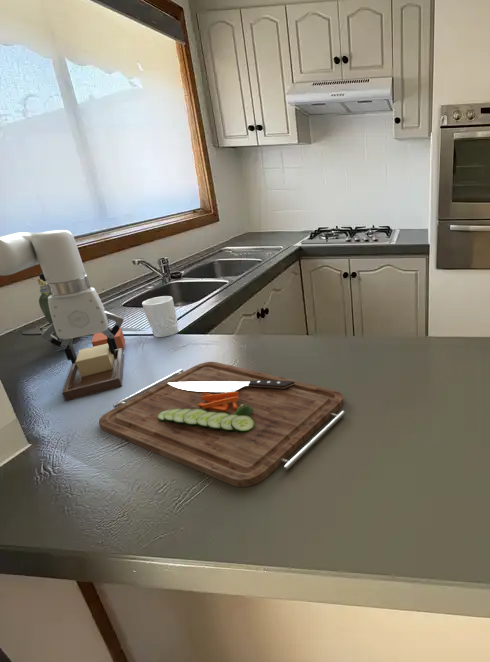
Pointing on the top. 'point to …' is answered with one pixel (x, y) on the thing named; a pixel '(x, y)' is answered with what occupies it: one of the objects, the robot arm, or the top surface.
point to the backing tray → (94, 379)
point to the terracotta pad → (102, 339)
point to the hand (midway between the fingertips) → (94, 356)
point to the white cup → (161, 315)
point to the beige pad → (94, 360)
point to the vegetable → (47, 307)
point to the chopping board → (225, 420)
